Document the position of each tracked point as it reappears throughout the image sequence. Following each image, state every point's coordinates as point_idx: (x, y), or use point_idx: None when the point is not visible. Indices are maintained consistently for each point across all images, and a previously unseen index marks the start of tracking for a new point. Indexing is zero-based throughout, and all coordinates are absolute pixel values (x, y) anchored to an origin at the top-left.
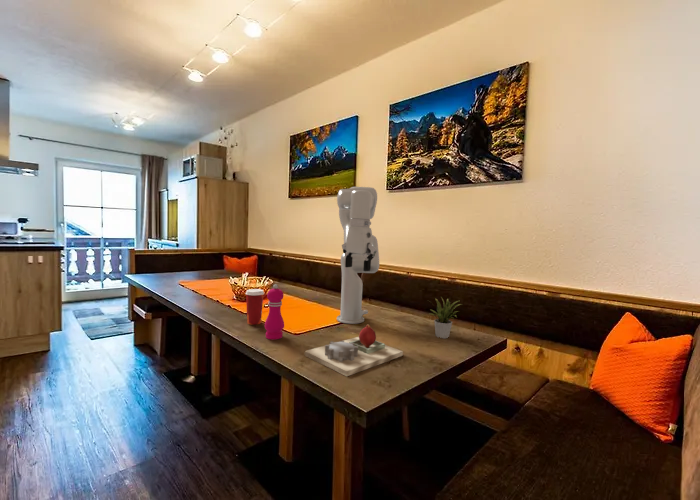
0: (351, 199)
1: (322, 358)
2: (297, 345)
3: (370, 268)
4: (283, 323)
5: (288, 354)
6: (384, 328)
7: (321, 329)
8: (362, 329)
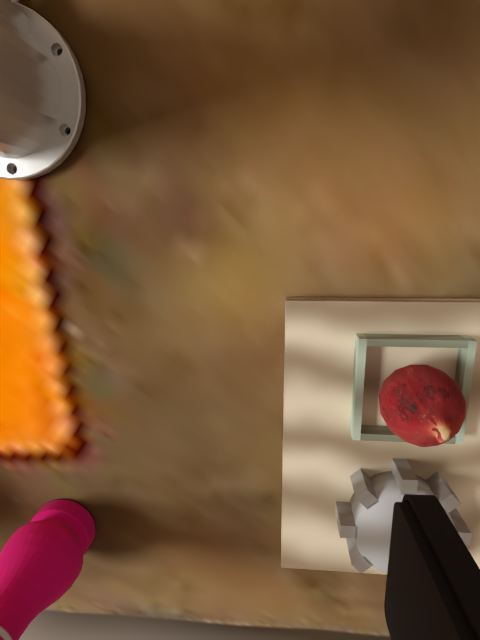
0: None
1: (370, 568)
2: (187, 517)
3: (448, 518)
4: (61, 549)
5: (240, 580)
6: (230, 41)
7: (74, 333)
8: (413, 439)
